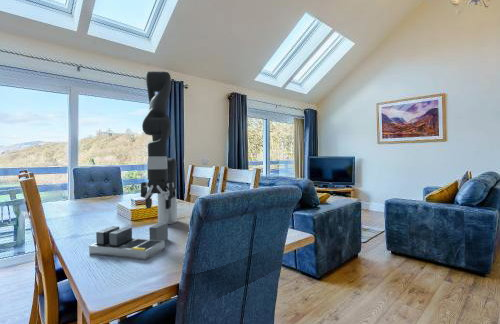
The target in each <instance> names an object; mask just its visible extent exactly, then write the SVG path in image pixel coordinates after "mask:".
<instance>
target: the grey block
mask: <svg viewBox="0 0 500 324" xmlns="http://www.w3.org/2000/svg"><path fill="white" fill-rule="evenodd" d="M168 226H169V224H168V223H165V222H161V223H158V222H157V224H154V225H152V226H149V239H150V240H162V241H165V242H166V241H168V239H169V232H168V231H169V229H168Z"/></svg>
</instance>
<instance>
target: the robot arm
mask: <svg viewBox="0 0 500 324" xmlns="http://www.w3.org/2000/svg"><path fill="white" fill-rule="evenodd" d="M145 83H146V91H147V98H148V103H149V104H148V105H149V107H148V113H147V114H146V116H145V117H144V119H143V121H142V123H141V124H142V126H141V127H142V131H143V133H144V134H145V135H147V136H151V139H152V141H149V142H148V144H147V163H146V164H147V165H146V166H147V180H148V182H147V181H145V182H144V181H142V182H141V183H140V197H141V198H142V199H143V198H144V199H145V208H146V209H151V208H152V196H153V195H155V194H157V224H158V223H161V222H165V223H168V225H172V224H173V225H174V224H176V223H177V222H178V203H177V160H176V158H174V157H167V156H168V155H167V151H168V150H167V146H168V145H167V144H168V139H169V138H170V136H171V133H172V123H171V119H170V116H169V115H168V112H167V111H168V101H169V98H170V96H171V95H170V94H171V90H172V77H171V74H170V72H169V71H156V70H155V71H153V70H149V71H147V72H146V74H145ZM148 188H149V189H148Z"/></svg>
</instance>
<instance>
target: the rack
mask: <svg viewBox="0 0 500 324" xmlns="http://www.w3.org/2000/svg"><path fill="white" fill-rule="evenodd" d="M95 235H96V236H95V237H96V239H95V240H96V242H95V243H92V244H89V246H88V248H89V255H95V256H103V257H112V258H122V259H130V260H131V259H132V260H140V261H141V260H142V261H147V260H149V259H151V258H152V257H154V256H156V255H157V254H159V253H160V252H162V251H164V250H165V249H166V248H165V247H166V246H165V244H166V241H162V240H150V238H149V239H147V238H136V237H133V228H132V227H129V226H125V227H122V228H120V226H115V225H112V226H109V227H107V228H104V229H100V230H98V231H96V232H95Z"/></svg>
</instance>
